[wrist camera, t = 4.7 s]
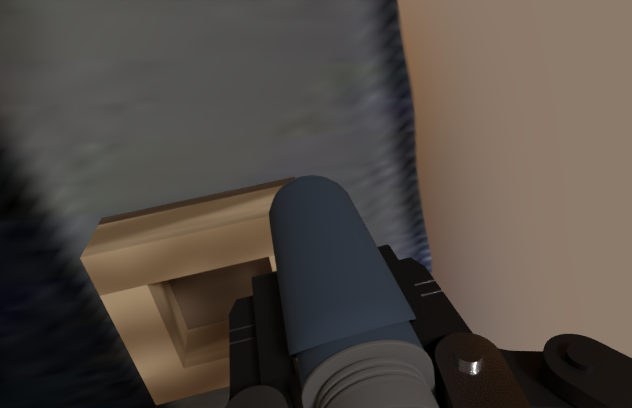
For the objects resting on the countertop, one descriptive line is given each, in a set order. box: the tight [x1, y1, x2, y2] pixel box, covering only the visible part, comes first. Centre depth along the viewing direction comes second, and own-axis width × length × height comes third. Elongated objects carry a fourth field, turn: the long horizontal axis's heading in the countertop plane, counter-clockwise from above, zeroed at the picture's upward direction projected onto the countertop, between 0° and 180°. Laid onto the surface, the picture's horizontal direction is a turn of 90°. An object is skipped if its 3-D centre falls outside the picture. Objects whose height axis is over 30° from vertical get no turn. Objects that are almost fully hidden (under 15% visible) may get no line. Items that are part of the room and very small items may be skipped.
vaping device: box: [269, 175, 439, 408], centre depth 9 cm, size 3×5×12 cm, turn 12°
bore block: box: [80, 177, 297, 405], centre depth 31 cm, size 14×14×5 cm
